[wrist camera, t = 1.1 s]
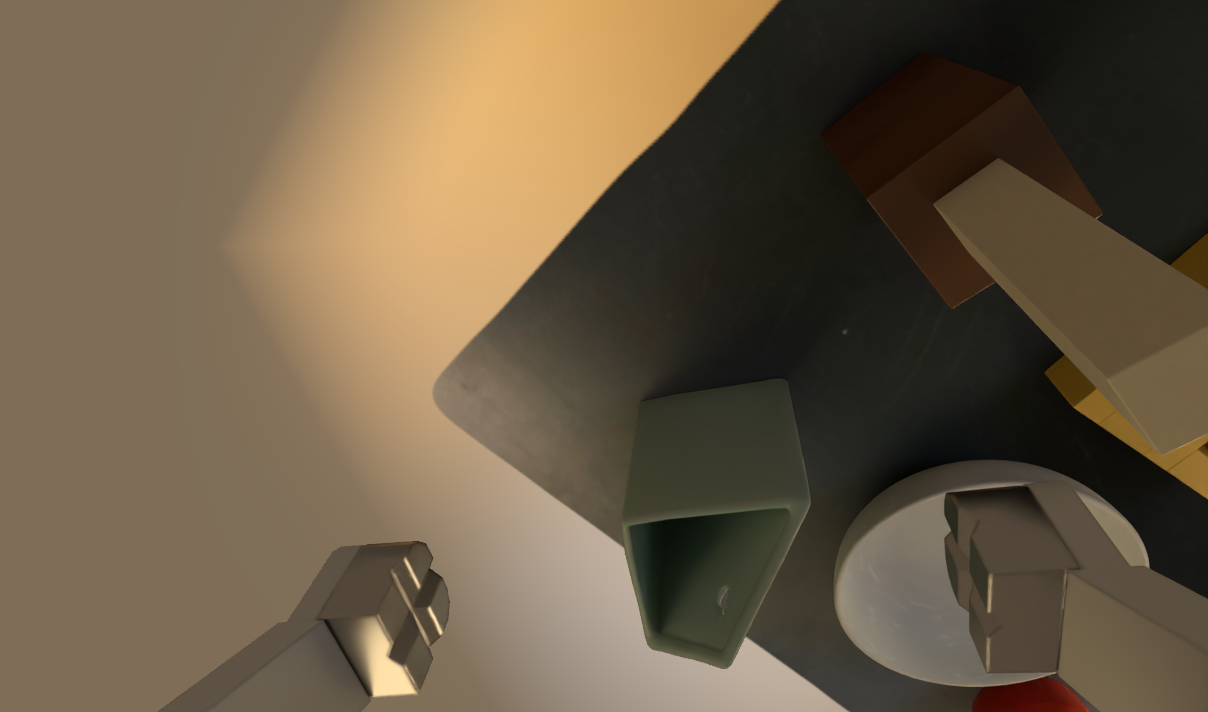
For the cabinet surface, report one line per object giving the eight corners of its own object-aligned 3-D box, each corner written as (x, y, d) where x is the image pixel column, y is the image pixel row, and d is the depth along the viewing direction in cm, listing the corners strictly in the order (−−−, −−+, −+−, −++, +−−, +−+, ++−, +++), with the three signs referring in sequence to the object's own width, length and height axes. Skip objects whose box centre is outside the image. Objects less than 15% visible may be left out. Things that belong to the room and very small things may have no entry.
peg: (1034, 210, 30) (1292, 395, 17) (969, 253, 31) (1161, 457, 18) (998, 157, 29) (1240, 308, 16) (932, 203, 30) (1105, 379, 17)
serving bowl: (768, 531, 58) (775, 595, 52) (980, 372, 49) (1018, 427, 43) (936, 653, 62) (961, 725, 57) (1161, 528, 53) (1219, 599, 47)
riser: (987, 143, 41) (1104, 214, 29) (884, 218, 44) (951, 310, 32) (923, 50, 40) (1020, 85, 27) (819, 134, 42) (865, 199, 30)
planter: (702, 325, 50) (700, 510, 33) (789, 381, 51) (832, 587, 34) (585, 468, 57) (535, 679, 40) (664, 514, 59) (647, 737, 42)
